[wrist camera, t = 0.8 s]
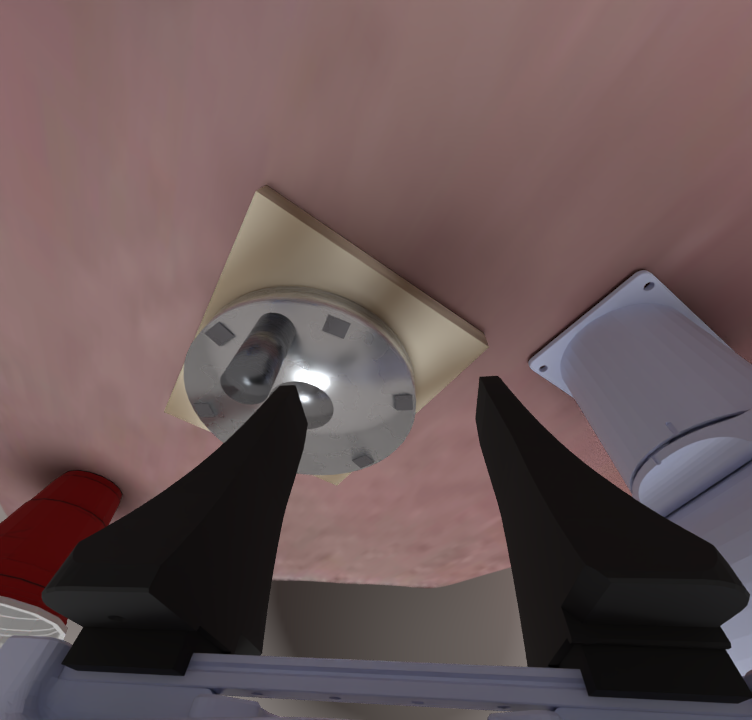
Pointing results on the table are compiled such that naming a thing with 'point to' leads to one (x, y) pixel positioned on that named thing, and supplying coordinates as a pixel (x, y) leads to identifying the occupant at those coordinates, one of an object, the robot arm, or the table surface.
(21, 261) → the table surface
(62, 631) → the plastic cup
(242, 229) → the base board
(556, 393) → the table surface
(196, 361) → the metal disc with knob
